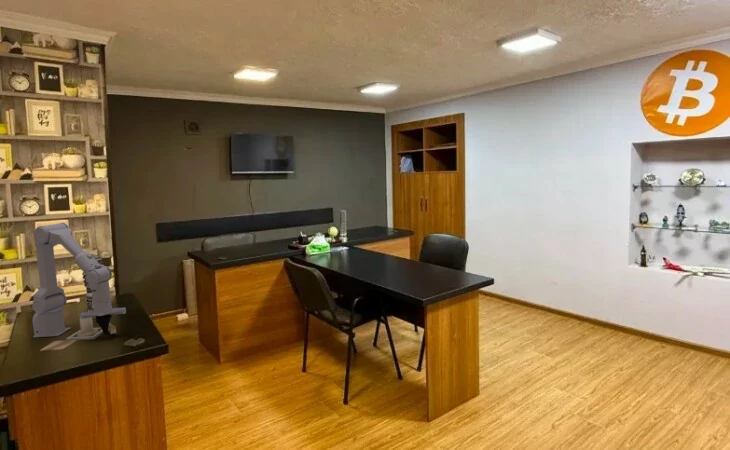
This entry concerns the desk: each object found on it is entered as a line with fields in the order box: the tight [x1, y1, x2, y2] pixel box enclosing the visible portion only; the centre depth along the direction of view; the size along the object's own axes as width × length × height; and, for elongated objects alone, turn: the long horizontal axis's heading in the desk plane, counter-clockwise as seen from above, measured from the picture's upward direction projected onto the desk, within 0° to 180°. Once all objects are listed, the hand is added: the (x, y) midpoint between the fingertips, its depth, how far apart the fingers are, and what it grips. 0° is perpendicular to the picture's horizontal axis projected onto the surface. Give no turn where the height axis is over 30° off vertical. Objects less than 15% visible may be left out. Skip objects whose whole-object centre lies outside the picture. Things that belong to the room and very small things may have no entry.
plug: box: [76, 317, 99, 337], centre depth 164 cm, size 7×7×7 cm
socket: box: [65, 327, 104, 341], centre depth 164 cm, size 10×10×1 cm
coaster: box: [39, 339, 78, 352], centre depth 154 cm, size 8×8×1 cm
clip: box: [108, 322, 117, 335], centre depth 166 cm, size 3×16×2 cm, turn 41°
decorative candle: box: [81, 254, 104, 312], centre depth 194 cm, size 9×9×25 cm
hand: (106, 334), depth 160 cm, fingers closed
